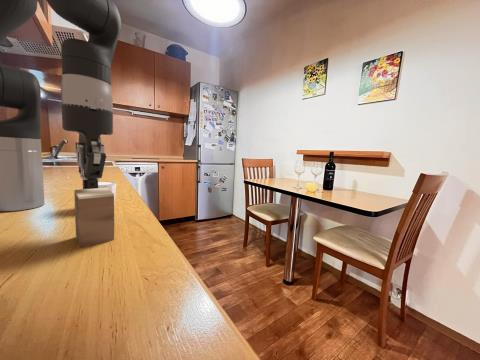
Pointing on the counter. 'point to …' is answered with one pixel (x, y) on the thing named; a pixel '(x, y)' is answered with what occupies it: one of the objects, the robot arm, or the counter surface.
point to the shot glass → (108, 186)
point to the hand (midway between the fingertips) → (90, 198)
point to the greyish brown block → (94, 216)
